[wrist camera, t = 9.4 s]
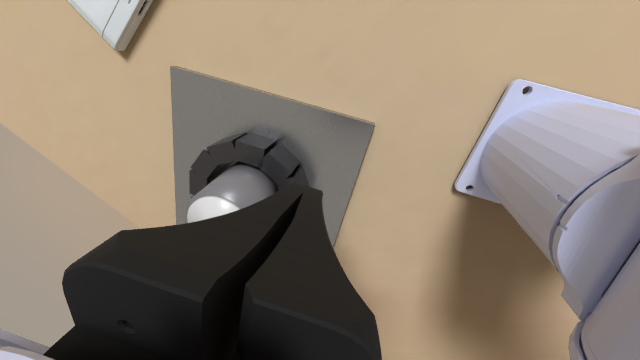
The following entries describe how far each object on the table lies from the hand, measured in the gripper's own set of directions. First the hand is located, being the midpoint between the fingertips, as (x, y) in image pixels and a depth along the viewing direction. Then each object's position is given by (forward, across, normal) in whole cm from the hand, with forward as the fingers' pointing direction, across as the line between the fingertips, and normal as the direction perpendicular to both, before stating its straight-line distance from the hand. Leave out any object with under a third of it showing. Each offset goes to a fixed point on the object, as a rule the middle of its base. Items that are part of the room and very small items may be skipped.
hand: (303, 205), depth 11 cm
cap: (+9, +6, +6) cm, 12 cm away
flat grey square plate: (+10, +6, +6) cm, 13 cm away
